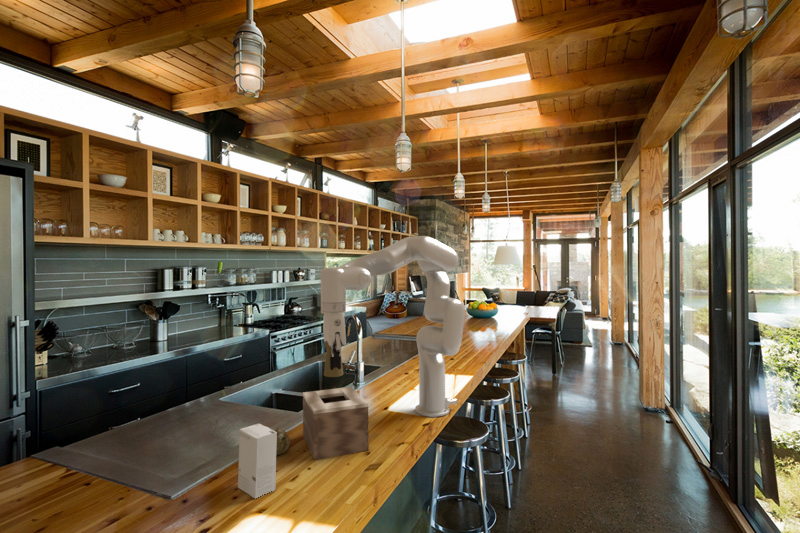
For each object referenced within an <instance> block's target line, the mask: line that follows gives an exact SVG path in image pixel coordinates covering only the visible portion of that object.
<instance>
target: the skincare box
mask: <svg viewBox="0 0 800 533" xmlns="http://www.w3.org/2000/svg"><path fill="white" fill-rule="evenodd" d="M273 430H274V429H271V428H270V427H269V426H265V425H263V424H261V423H256V424H252V425H250V426H246V427H242V428H240V429H239V440H238V441H239V442H238V444H239V446H238V447H239V448H238V469H237V470H238V471H237V472H238V476H237V477H238V478H237V488H238V489H239V490H241V491H243V492H244V493H247V495H249V496H250V497H252V498H253V499H254V498H255V500H256V498H257V499H259V498H261V497H263V496H265V495H264V494H266V495H268V494H270V493H272V492H275V491H276V483H277V482H276V481H277V480H276V479H277V478H276V476H277V474H276V472H277V455H276V446H277V432H275V431H273ZM271 491H272V492H271ZM269 492H270V493H269ZM267 493H268V494H267ZM262 495H263V496H262ZM260 496H261V497H260ZM258 497H259V498H258Z"/></svg>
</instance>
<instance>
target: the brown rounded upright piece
mask: <svg viewBox="0 0 800 533" xmlns="http://www.w3.org/2000/svg"><path fill="white" fill-rule="evenodd" d="M340 343H341V340H340ZM333 346H336V344H333ZM342 346H343V345H342V344H341V348H342ZM324 348H325V349H326V353H325V361H324V362H325V363H324V370H323V376H324V377H328V378H337V377H341V376H343V375H344V373H345V372H344V367H343V359H342V358H341V369H338V368H334V369H333V370H331V369H330V357H331V346H329V345H328V342H327V341H326V342H325V341H324ZM334 349H336V348H333V350H334Z"/></svg>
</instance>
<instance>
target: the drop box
mask: <svg viewBox="0 0 800 533" xmlns="http://www.w3.org/2000/svg"><path fill="white" fill-rule="evenodd" d="M302 436H303V439H304V440H305V443H306V445H307V447H308V450H309V452H310V453H311V456H312V458H313V460H314V461H317V460H322V459H324V460H325V459H329V458H335V457H338V456H345V455H350V454H355V453H363V452H367V451H368V452H369V450H370V448H369V442H370V441H369V403H368V401H366V400H365V398H364V397H363V396H361V395H360V394H359V393H358V392H357V391H356V390H355V388H353V387H352V386H348V387H347V386H346V387H345V386H344V387H337V388H331V389H322V390H321V389H320V390H313V391H305V392H304V391H303V392H302Z"/></svg>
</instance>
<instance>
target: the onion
mask: <svg viewBox="0 0 800 533" xmlns="http://www.w3.org/2000/svg"><path fill="white" fill-rule="evenodd" d="M272 430H273V431H275V432H277V446H276V456H279V455H282V454H284V453H285V452H287V450H288V449H289V447H290V445H291V438H290V435H289V434H288V432H286V431H285V430H284V429H283V428H281V427H279V428H278V427H277V426H276V427H274V429H272Z"/></svg>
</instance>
